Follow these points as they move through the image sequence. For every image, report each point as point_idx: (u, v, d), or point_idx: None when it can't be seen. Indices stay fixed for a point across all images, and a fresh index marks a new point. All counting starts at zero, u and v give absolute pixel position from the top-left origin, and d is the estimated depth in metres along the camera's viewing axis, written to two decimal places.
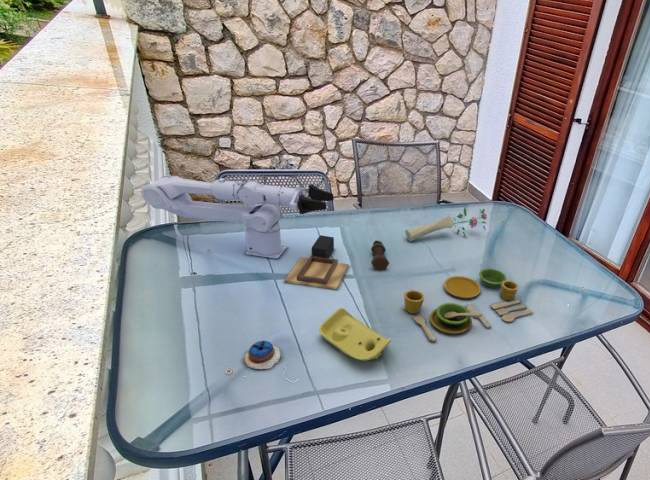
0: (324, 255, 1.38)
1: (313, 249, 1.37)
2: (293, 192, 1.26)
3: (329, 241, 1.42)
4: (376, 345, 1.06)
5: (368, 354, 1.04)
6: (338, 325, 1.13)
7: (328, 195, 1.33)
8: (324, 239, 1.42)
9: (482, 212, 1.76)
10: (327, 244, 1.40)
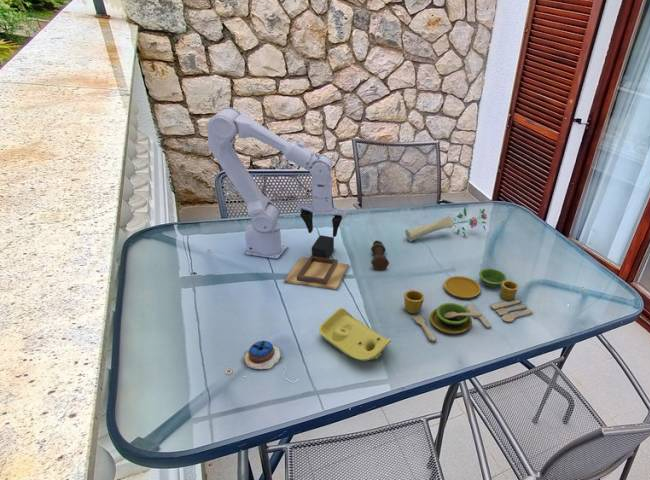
0: (324, 255, 1.38)
1: (313, 249, 1.37)
2: None
3: (329, 241, 1.42)
4: (376, 345, 1.06)
5: (368, 354, 1.04)
6: (338, 325, 1.13)
7: (311, 227, 1.38)
8: (324, 239, 1.42)
9: (482, 212, 1.76)
10: (327, 244, 1.40)
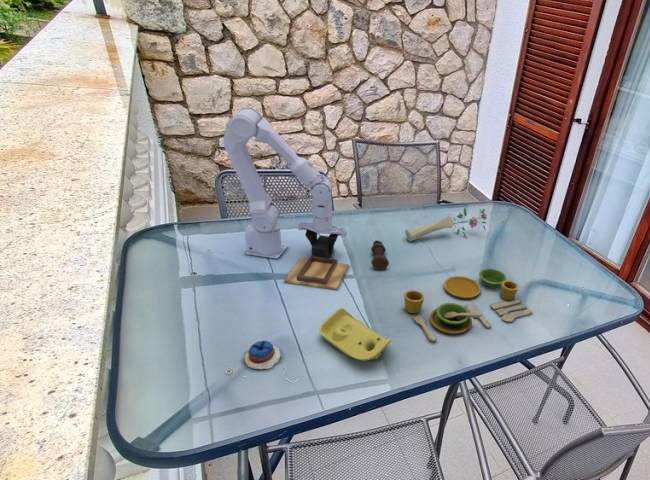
0: (324, 255, 1.38)
1: (313, 249, 1.37)
2: None
3: None
4: (376, 345, 1.06)
5: (368, 354, 1.04)
6: (338, 325, 1.13)
7: None
8: (324, 239, 1.42)
9: (482, 212, 1.76)
10: (327, 244, 1.40)
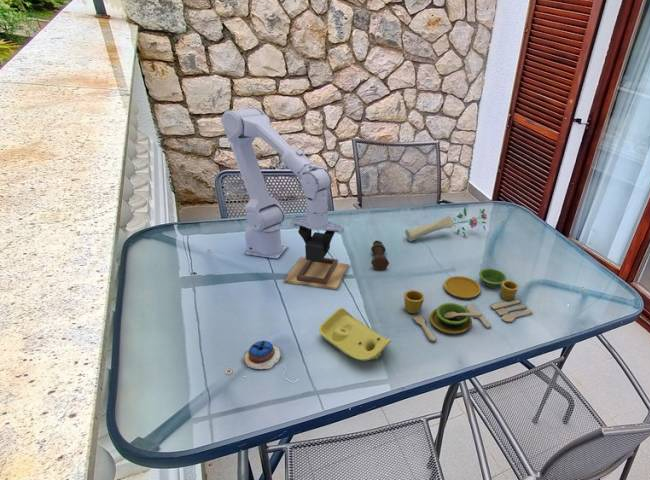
0: (319, 254, 1.26)
1: (307, 247, 1.25)
2: None
3: None
4: (376, 345, 1.06)
5: (368, 354, 1.04)
6: (338, 325, 1.13)
7: None
8: (319, 236, 1.30)
9: (482, 212, 1.76)
10: (322, 242, 1.28)
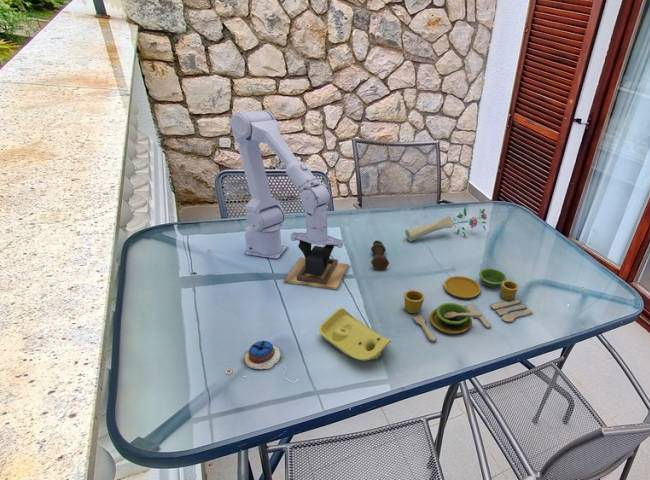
0: (319, 268, 1.27)
1: (307, 261, 1.26)
2: None
3: None
4: (376, 345, 1.06)
5: (368, 354, 1.04)
6: (338, 325, 1.13)
7: None
8: (319, 250, 1.31)
9: (482, 212, 1.76)
10: (322, 256, 1.29)
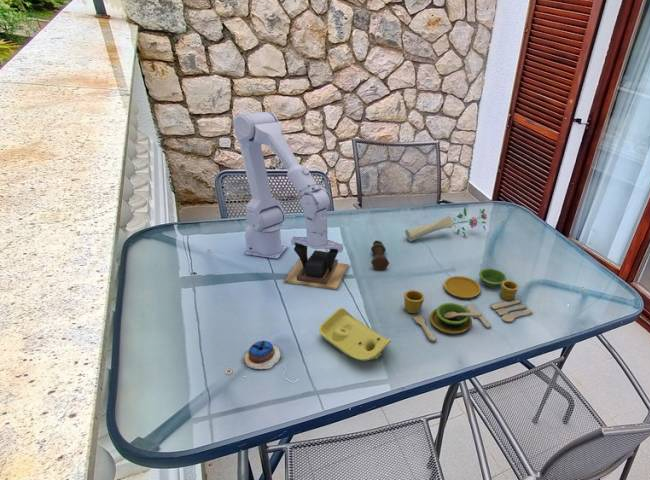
0: (319, 272, 1.28)
1: (307, 266, 1.27)
2: None
3: (324, 257, 1.32)
4: (376, 345, 1.06)
5: (368, 354, 1.04)
6: (338, 325, 1.13)
7: (306, 261, 1.31)
8: (319, 254, 1.32)
9: (482, 212, 1.76)
10: (322, 260, 1.30)
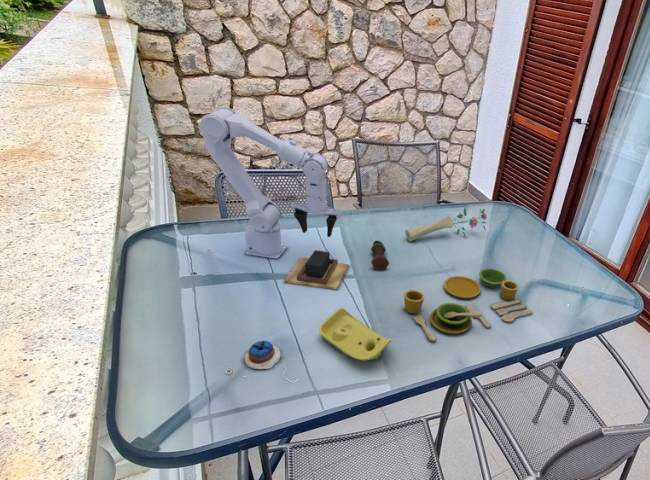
0: (319, 272, 1.28)
1: (307, 266, 1.27)
2: None
3: (324, 257, 1.32)
4: (376, 345, 1.06)
5: (368, 354, 1.04)
6: (338, 325, 1.13)
7: (306, 227, 1.36)
8: (319, 254, 1.32)
9: (482, 212, 1.76)
10: (322, 260, 1.30)
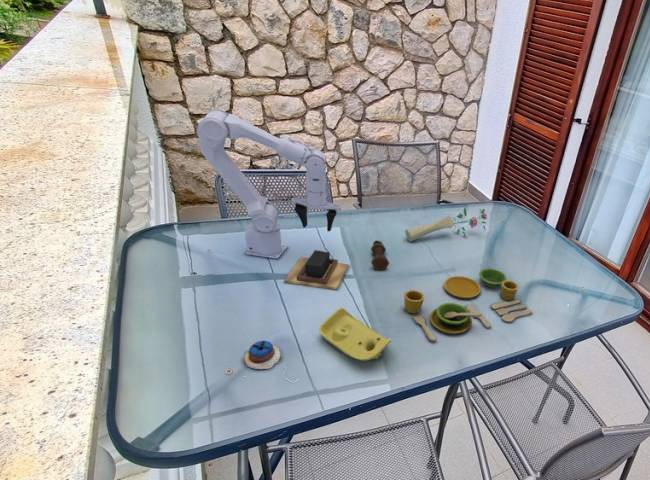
0: (319, 272, 1.28)
1: (307, 266, 1.27)
2: None
3: (324, 257, 1.32)
4: (376, 345, 1.06)
5: (368, 354, 1.04)
6: (338, 325, 1.13)
7: (306, 222, 1.38)
8: (319, 254, 1.32)
9: (482, 212, 1.76)
10: (322, 260, 1.30)
